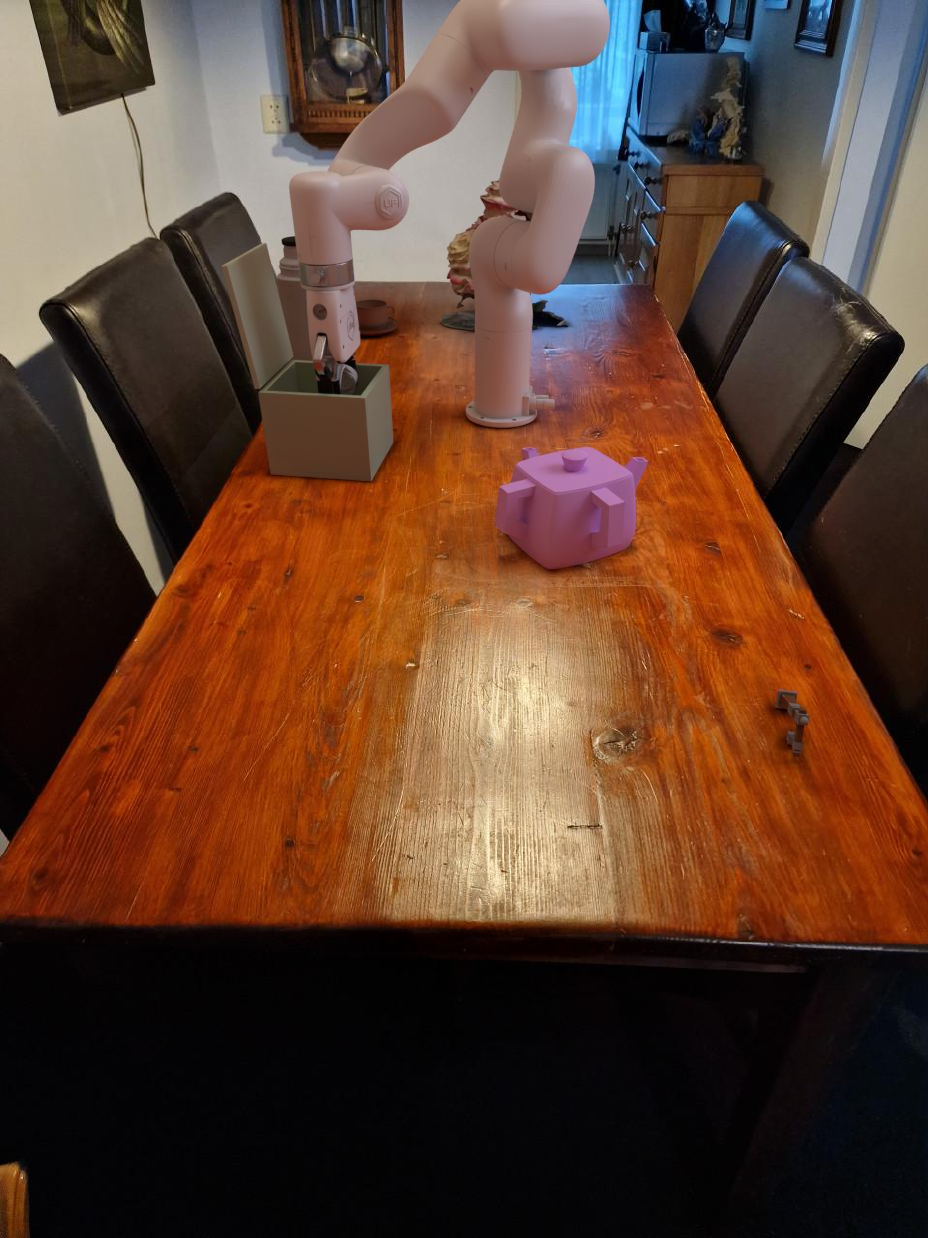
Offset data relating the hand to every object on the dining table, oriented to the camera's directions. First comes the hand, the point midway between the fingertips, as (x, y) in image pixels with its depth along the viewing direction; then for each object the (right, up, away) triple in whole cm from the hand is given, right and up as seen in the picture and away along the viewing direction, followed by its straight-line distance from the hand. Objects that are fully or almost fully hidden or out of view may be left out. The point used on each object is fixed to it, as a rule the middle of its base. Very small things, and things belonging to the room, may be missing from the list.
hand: (339, 395), depth 123 cm
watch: (0, -5, +4) cm, 7 cm away
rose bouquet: (+26, +36, +68) cm, 82 cm away
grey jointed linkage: (+50, -45, -45) cm, 81 cm away
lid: (-10, +10, -6) cm, 15 cm away
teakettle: (+33, -23, -15) cm, 43 cm away
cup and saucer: (-2, +31, +62) cm, 70 cm away
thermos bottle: (-8, +5, +25) cm, 27 cm away
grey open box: (-2, -8, +6) cm, 10 cm away
